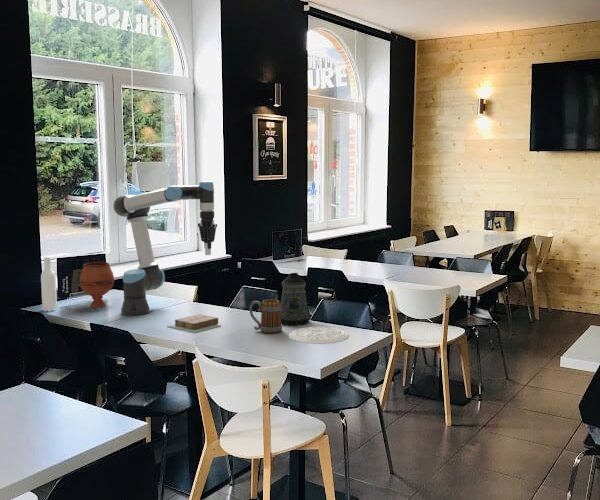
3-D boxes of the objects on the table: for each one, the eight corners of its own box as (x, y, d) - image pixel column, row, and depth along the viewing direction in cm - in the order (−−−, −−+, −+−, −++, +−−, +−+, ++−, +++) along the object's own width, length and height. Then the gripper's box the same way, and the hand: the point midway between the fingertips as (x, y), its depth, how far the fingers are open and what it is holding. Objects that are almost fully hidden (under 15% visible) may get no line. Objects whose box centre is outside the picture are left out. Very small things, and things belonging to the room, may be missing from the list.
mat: (167, 326, 322) (167, 325, 322) (193, 320, 335) (193, 319, 335) (194, 332, 309) (194, 331, 309) (221, 326, 323) (221, 325, 323)
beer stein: (281, 327, 320) (281, 277, 317) (272, 318, 339) (272, 271, 336) (313, 324, 325) (313, 275, 322) (303, 316, 343) (303, 270, 340)
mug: (283, 329, 316) (283, 298, 314) (280, 334, 305) (280, 303, 304) (251, 328, 317) (251, 298, 316) (247, 333, 307) (247, 302, 305)
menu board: (199, 320, 334) (175, 325, 322) (199, 314, 334) (175, 319, 321) (218, 324, 325) (194, 330, 313) (218, 317, 325) (194, 323, 313)
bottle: (49, 308, 368) (46, 255, 365) (60, 309, 366) (58, 256, 362) (39, 311, 361) (36, 257, 357) (50, 312, 358) (48, 258, 355)
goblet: (82, 310, 361) (80, 266, 358) (79, 304, 379) (77, 262, 376) (117, 307, 368) (115, 264, 365) (113, 301, 386) (111, 260, 383)
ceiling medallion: (334, 327, 321) (334, 321, 320) (358, 341, 295) (358, 334, 294) (280, 332, 311) (280, 326, 311) (301, 347, 285) (301, 340, 285)
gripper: (220, 210, 343) (221, 255, 345) (203, 210, 351) (204, 253, 354) (210, 211, 337) (211, 256, 340) (193, 210, 345) (194, 254, 348)
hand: (208, 254), depth 347 cm, fingers closed
